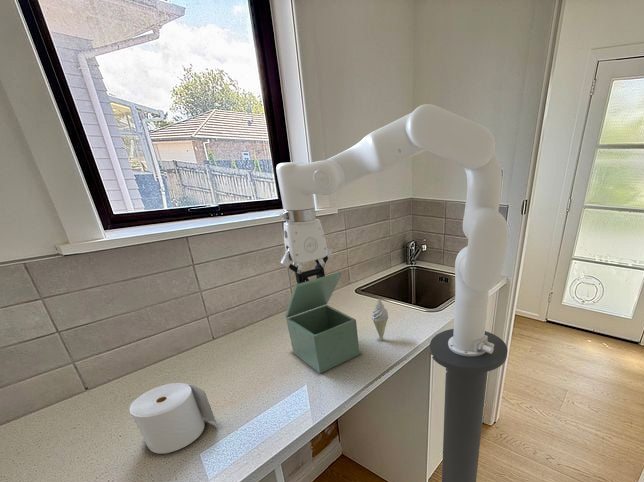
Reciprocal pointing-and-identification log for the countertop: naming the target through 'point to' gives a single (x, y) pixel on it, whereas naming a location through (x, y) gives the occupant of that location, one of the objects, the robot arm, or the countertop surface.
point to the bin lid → (312, 292)
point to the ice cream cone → (380, 318)
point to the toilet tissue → (171, 416)
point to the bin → (323, 337)
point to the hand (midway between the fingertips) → (311, 282)
